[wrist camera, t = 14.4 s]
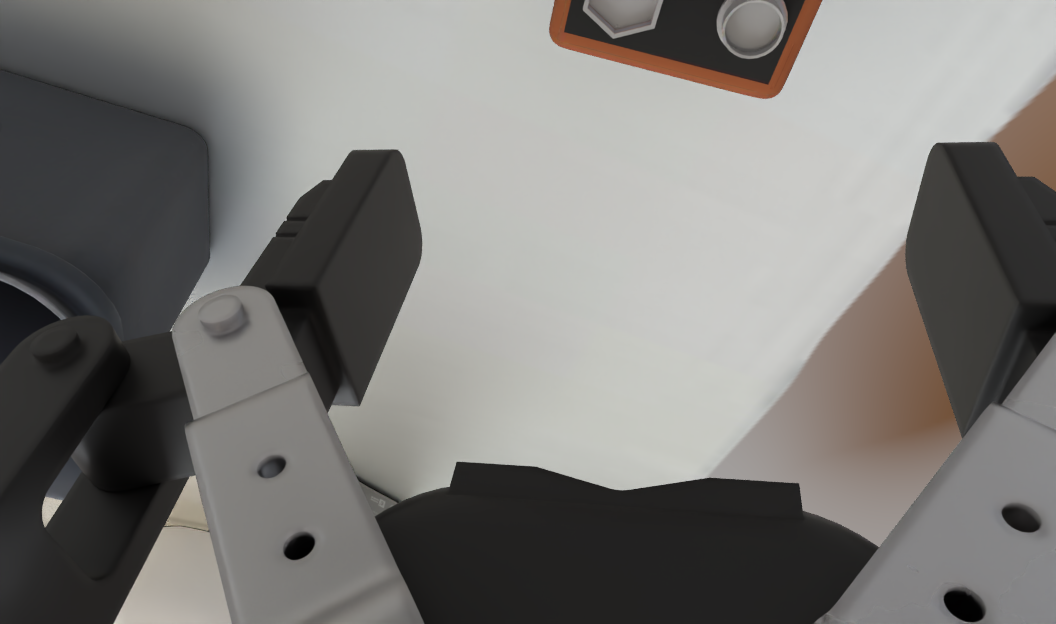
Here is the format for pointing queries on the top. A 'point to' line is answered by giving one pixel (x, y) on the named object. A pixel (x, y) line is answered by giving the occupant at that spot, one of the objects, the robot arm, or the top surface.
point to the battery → (692, 38)
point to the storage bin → (95, 217)
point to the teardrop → (178, 583)
